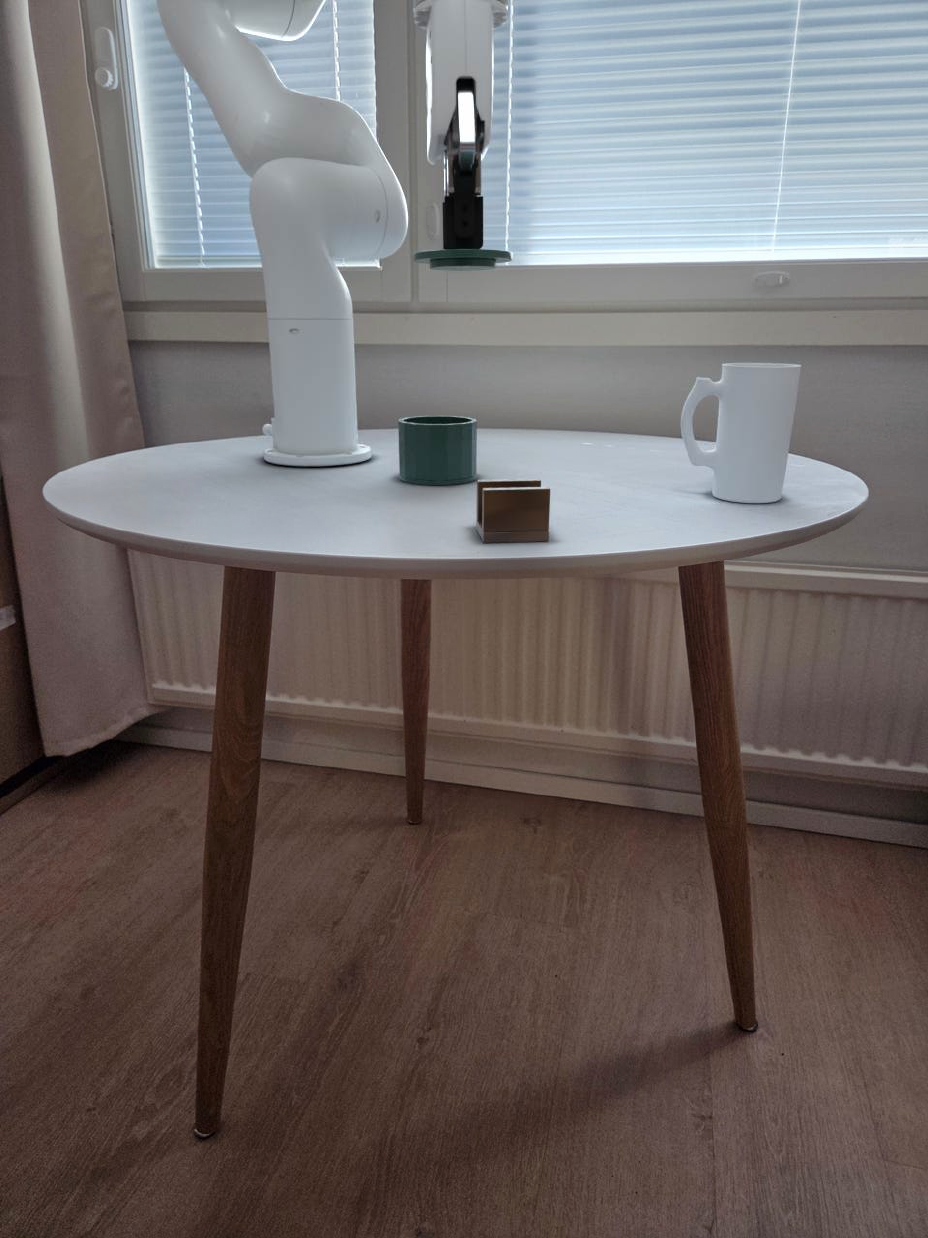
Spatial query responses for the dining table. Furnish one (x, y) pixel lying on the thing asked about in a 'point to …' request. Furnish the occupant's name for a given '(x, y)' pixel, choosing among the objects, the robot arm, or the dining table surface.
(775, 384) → the mug
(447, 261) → the lid
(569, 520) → the dining table surface
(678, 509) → the dining table surface
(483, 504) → the rack
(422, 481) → the pot
